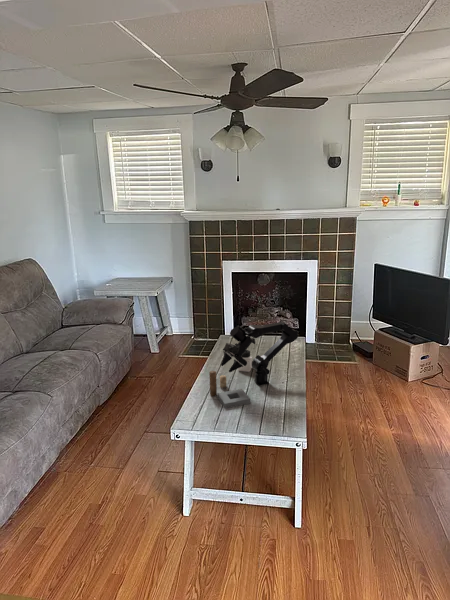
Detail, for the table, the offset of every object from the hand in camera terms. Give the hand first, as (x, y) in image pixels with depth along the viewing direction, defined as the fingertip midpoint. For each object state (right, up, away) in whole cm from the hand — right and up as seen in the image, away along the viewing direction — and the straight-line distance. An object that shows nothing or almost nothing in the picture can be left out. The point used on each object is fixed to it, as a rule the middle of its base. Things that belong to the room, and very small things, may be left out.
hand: (225, 368), depth 228 cm
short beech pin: (-1, -11, +9) cm, 15 cm away
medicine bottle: (+12, -5, +31) cm, 34 cm away
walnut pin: (-6, -14, 0) cm, 15 cm away
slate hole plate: (+4, -16, -6) cm, 17 cm away
